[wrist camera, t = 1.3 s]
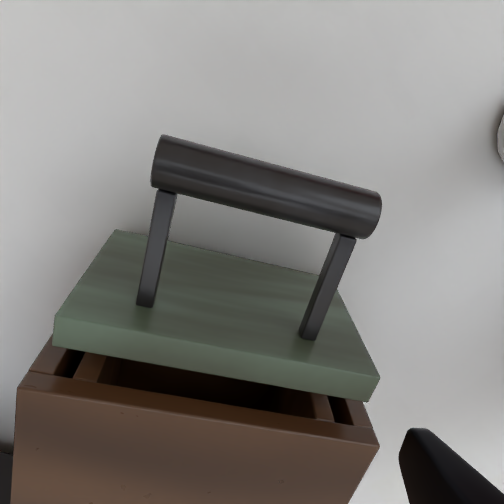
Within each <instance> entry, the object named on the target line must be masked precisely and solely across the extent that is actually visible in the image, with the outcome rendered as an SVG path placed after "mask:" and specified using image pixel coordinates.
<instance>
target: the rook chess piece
mask: <svg viewBox="0 0 504 504" xmlns="http://www.w3.org/2000/svg"><path fill="white" fill-rule="evenodd" d="M497 136H498V153H499V155H500V157H501V159H502V161H503V163H504V115H503V118H502V121H501V124H500V126H499V129H498V132H497Z"/></svg>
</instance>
